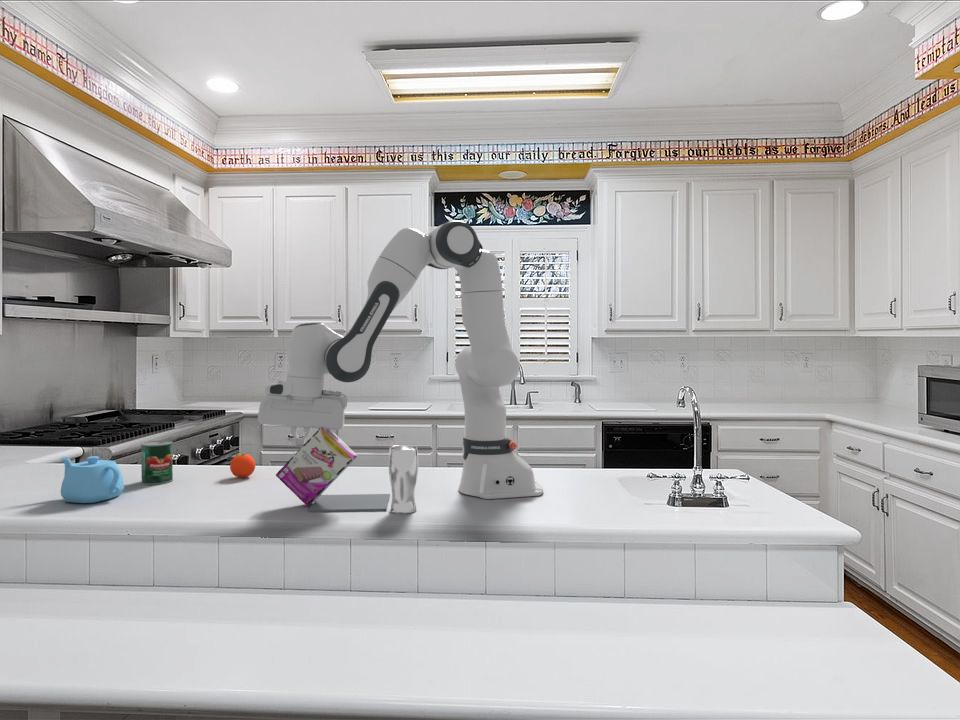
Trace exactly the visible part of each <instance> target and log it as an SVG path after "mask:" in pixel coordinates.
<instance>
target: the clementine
mask: <svg viewBox="0 0 960 720" xmlns="http://www.w3.org/2000/svg"><path fill="white" fill-rule="evenodd" d="M229 469H230V472H231V475H233V476H235V478H239V479H245V478H248V477H250V476H251V475H252V474H253V473H254V471H255V469H256V460H255V459H254V458H253V456H251V455H250V454H248V453H247V454H246V453H238V454H235V456H234V457H233V458H232V459H231V461H230V464H229Z"/></svg>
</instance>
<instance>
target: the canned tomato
mask: <svg viewBox="0 0 960 720" xmlns="http://www.w3.org/2000/svg"><path fill="white" fill-rule="evenodd" d="M140 446H141V448H140V450H141V451H140V457H141V458H140V459H141V464H140V465H141V466H140V468H141V469H140V470H141V474H140V475H141V484H142V485H146V486H151V485H152V486H153V485H154V486H157V485H164V484H169V483H171V482H173V480H174V478H173V475H174V472H173V471H174V470H173V466H174V464H173V441H172V440H164V439H163V440H162V439H161V440H151V441H150V440H149V441H144V442H141V443H140Z"/></svg>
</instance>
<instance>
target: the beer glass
mask: <svg viewBox="0 0 960 720" xmlns="http://www.w3.org/2000/svg"><path fill="white" fill-rule="evenodd" d="M388 451H389V453H388V475H389V476H388V477H389V482H390V483H389V484H390V487H391V505H390V512H391V513H393V514H397V515H405V514H406V515H407V514H412V513H415V512H416V511H417V504H416V497H415V495H416V494H415V493H416V488H417V487H416V486H417V482H418V481H417V480H418V474H419V454H418V453H419V452H418V446H416V445H407V444H403V445H402V444H400V445H399V444H398V445H392V446H390V447H389V450H388Z"/></svg>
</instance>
